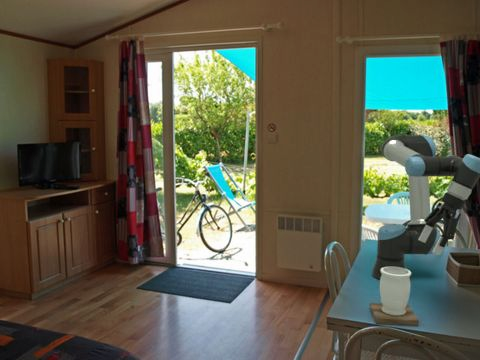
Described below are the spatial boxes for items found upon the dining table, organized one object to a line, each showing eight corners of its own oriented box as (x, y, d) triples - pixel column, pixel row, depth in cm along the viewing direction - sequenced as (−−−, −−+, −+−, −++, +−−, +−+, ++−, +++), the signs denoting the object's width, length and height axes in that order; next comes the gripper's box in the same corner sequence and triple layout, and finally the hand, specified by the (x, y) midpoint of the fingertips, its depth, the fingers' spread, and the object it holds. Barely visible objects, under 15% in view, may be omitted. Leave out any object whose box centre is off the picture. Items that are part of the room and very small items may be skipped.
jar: (408, 319, 160) (410, 277, 158) (376, 314, 164) (379, 273, 162) (409, 308, 170) (411, 268, 168) (379, 303, 173) (381, 264, 172)
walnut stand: (369, 308, 175) (369, 302, 174) (408, 309, 173) (408, 304, 173) (376, 323, 161) (376, 318, 161) (418, 326, 159) (418, 320, 159)
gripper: (482, 208, 157) (452, 263, 161) (450, 192, 181) (424, 240, 185) (462, 200, 156) (432, 255, 160) (433, 184, 181) (407, 232, 185)
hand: (428, 247), depth 173 cm, fingers open, 13 cm apart
